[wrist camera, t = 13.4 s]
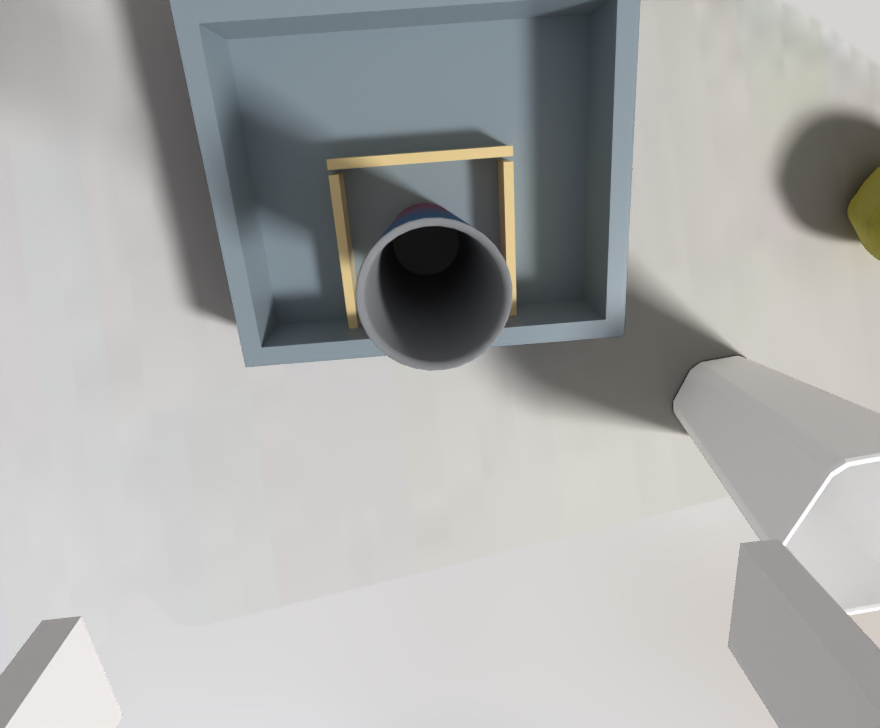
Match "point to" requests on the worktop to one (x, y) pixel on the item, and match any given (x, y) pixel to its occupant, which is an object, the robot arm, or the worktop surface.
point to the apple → (867, 213)
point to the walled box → (413, 153)
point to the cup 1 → (433, 290)
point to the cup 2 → (794, 468)
